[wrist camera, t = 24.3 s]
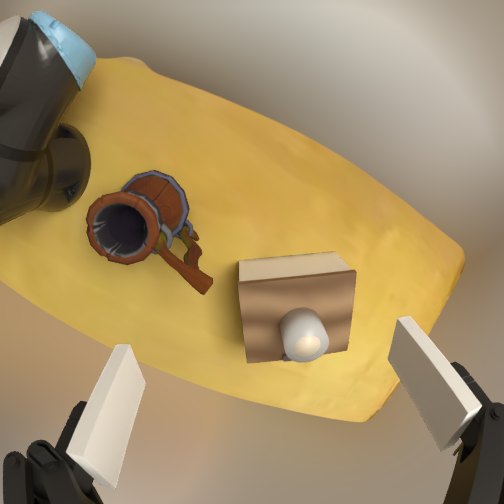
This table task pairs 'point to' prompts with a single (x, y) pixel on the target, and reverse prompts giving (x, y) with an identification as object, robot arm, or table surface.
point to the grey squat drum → (303, 335)
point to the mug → (146, 225)
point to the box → (291, 266)
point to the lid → (291, 297)
